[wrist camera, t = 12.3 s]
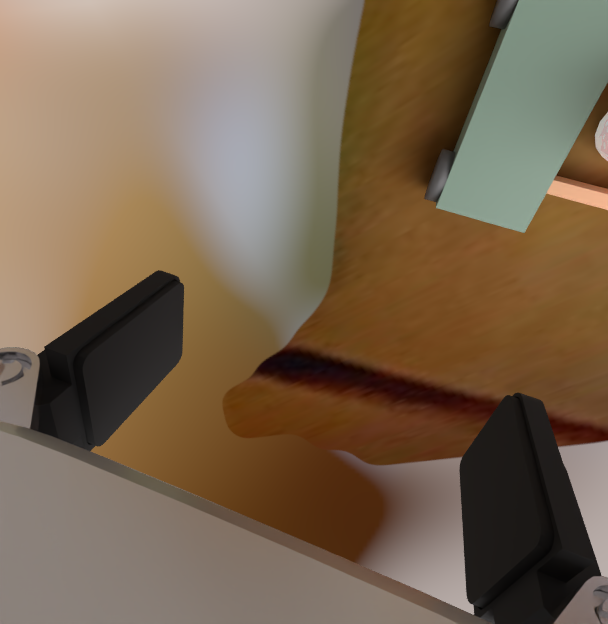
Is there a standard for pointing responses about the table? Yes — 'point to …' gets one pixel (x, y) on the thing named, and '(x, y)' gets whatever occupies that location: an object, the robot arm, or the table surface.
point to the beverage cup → (602, 137)
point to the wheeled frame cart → (527, 113)
